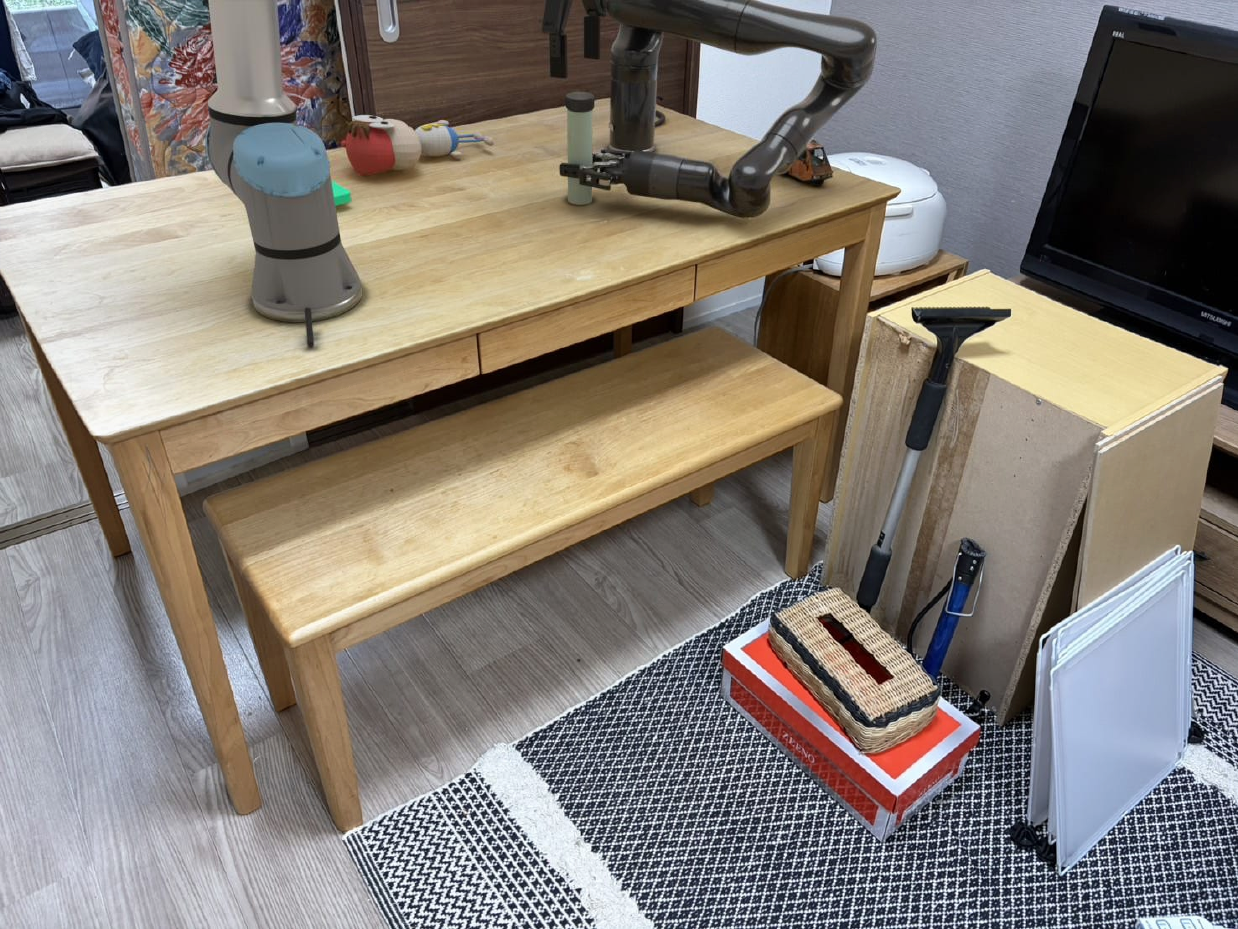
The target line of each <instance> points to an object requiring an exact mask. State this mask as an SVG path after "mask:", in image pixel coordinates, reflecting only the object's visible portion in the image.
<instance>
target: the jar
mask: <svg viewBox="0 0 1238 929" xmlns="http://www.w3.org/2000/svg"><path fill="white" fill-rule="evenodd" d="M566 114H567V115H566V121H567V122H566V125H567V126H566V127H567V130H566V131H567V133H566V136H567V138H566V139H567V140H566V142H567V148H566V149H567V163H570V164H577V165H592V153H594V152H593V149H594V148H593V147H594V146H593V145H594V144H593V139H594V138H593V134H594V133H593V132H594V128H593V127H594V109H592V110H590V111H584V112H578V111H571V110H568V109H567V108H566ZM591 171H593V170H591ZM586 176H589V175H586ZM590 182H591V181H590ZM567 201H568V203H570V204H572V205H577V206H584V205H589V204H591V203H592V202H593V187H589V186H584V185H580V184H579V179H578V178H571V177H567Z"/></svg>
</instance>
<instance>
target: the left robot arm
mask: <svg viewBox="0 0 1238 929" xmlns="http://www.w3.org/2000/svg"><path fill="white" fill-rule="evenodd" d="M573 1H574V0H545V5H544V10H543V11H544V12H543V17H542V24H541V31H542V33H543V34H545V35H548V36H549V37H548V38H549V39H548V40H549V77H550V78H555V79H564V80H566V79H568V34H566V33H565V30H566V26H567V23H568V19H569V15H570V12H571V8H572V5H573ZM581 2H582V5H583V7H584V11H585V13H586V15H585V16H583V58H584V59H589V60H598V61H599V60H600V59H601V18H606V16H607V10H606V0H581ZM278 9H279V8H278V0H208V11H209V17H210V19H209V20H210V29H211V36H212V37H211V38H212V46H213V54H214V64H215V73H216V82H217V89H216V91H215V92H214V93H213V94H212V95H211V96H210V98H208V100H207V109H208V117H209V124H208V126H207V129H206V132H205V138H204V139H205V140H204V142H205V144H204V145H205V146H204V147H205V151H206V155H207V158H208V162H209V164H210V167H211V168H212V170H213V171H214V173H215V175H216V176H217V177H218V179H219V180H220V181H221V182H222V183H223V184H224V185H225V186H227V187H228V188H229V189H230V190H231V192H232V193H233V194H234V195H235V196H236V197H237V199H239V200H240V201H241V203H242V204H243V206H244V208H245V211H246V215H247V219H248V220H247V221H248V224H249V228H250V234H251V237H252V238H251V239H252V242H253V247H254V251H255V258H254V264H253V273H252V283H251V291H250V293H251V299H252V303H253V307H254V309H255V310H256V311H257V313H259V314H260V315H262V316H264V317H266V318H268V319H271V320H275V321H281V322H289V323H304V322H305V329H306V330H305V332H306V344H307V347H309V348H313V347H314V346H315V338H314V327H313V322H314V321H315V322H316V321H320V320H326V319H330V318H332V317H336V316H338V315H341V314H343V313H345V312H348V311H349V310H351V309H353V308H354V307H355V306H356V305H357V304H358V303H359V302H360V301H361V298H362V297H363V287H362V282H361V278H360V276H359V274H358V272H357V270H356V268H355V266H354V264H353V263H352V261H351V259H350V257H349V255H348V253H347V251H346V250H345V248H344V245H343V243H342V239H341V233H340V226H339V220H338V214H337V207H336V206H335V201H334V194H333V188H332V182H331V181H332V177H331V162H330V158H329V156H328V154H327V150H326V146H325V144H324V143H325V142H324V141H323V139H322V138H321V137H320V136H319V135H318V134H317V133H316V132H315V131H313V130H311V129H309V128H308V127H305V126H302V125H298V119H297V118H298V117H297V105H296V103H294V101H293V100H292V99H290V98H289V96H288V95H287V94H286V93H285V90H284V77H283V76H284V75H283V64H282V52H281V49H282V48H281V37H280V21H279V10H278Z"/></svg>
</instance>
